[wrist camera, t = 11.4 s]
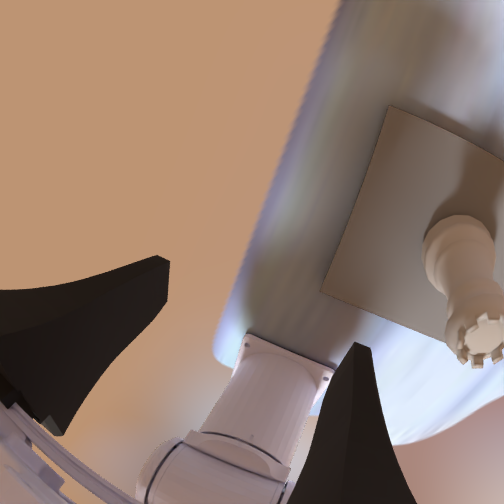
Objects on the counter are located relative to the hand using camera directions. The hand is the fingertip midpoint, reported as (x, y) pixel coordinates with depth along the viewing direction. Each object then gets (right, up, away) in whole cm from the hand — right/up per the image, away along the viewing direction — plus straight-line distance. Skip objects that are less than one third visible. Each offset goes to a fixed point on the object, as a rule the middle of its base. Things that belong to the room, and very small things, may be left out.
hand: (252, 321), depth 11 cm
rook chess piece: (+12, +3, +4) cm, 13 cm away
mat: (+12, +3, +5) cm, 13 cm away
